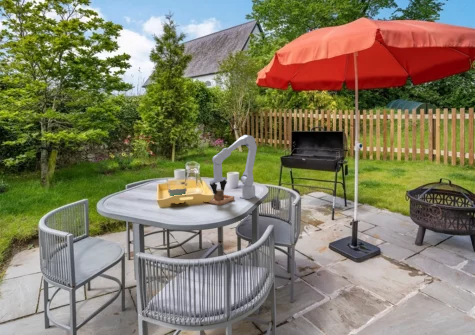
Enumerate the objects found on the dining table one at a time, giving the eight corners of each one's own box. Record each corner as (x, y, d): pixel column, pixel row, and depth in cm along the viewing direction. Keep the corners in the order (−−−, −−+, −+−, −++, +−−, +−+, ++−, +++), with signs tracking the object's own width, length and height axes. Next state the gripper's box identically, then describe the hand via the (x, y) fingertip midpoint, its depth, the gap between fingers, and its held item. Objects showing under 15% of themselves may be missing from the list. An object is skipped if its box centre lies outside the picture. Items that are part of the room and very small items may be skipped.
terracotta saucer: (218, 196, 216) (218, 193, 216) (234, 200, 207) (234, 196, 207) (203, 201, 205) (203, 198, 204) (219, 205, 196) (219, 201, 195)
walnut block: (218, 198, 209) (218, 188, 208) (223, 199, 206) (223, 189, 204) (214, 199, 206) (214, 190, 205) (219, 201, 203) (219, 191, 201)
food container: (168, 205, 198) (167, 190, 197) (169, 202, 204) (168, 188, 203) (187, 204, 201) (186, 189, 199) (187, 201, 207) (186, 187, 205)
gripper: (214, 175, 195) (215, 195, 197) (229, 171, 205) (230, 191, 208) (207, 174, 199) (208, 194, 202) (222, 170, 210) (222, 189, 212)
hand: (218, 192), depth 205 cm, fingers open, 7 cm apart
